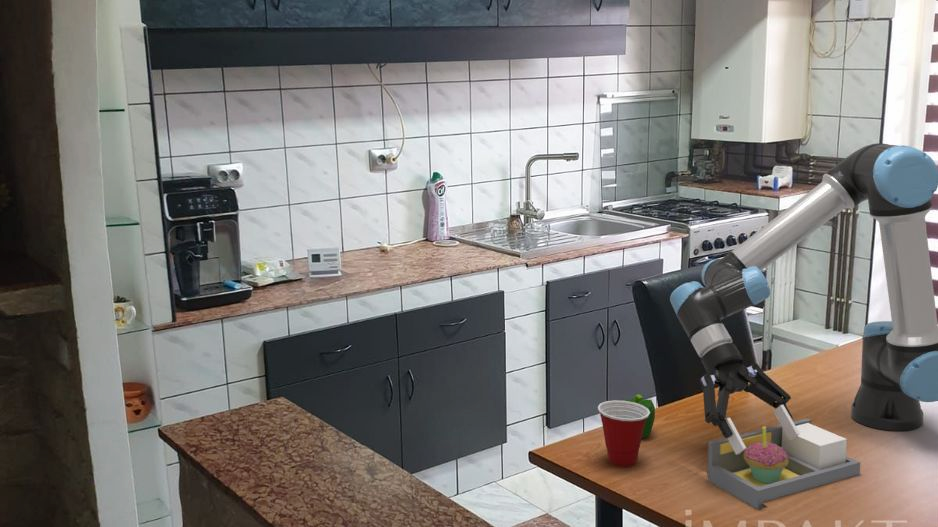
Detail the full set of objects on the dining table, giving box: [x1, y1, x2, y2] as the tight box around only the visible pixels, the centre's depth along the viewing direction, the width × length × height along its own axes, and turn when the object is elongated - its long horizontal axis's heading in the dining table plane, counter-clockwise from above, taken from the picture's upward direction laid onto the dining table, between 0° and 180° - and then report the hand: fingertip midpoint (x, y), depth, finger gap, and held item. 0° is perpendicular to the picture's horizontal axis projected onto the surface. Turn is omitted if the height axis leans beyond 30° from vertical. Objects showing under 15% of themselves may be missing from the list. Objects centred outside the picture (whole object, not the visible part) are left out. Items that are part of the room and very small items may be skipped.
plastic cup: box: [597, 400, 650, 468], centre depth 187 cm, size 11×11×12 cm
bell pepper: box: [620, 394, 656, 439], centre depth 201 cm, size 8×8×10 cm
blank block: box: [782, 423, 848, 470], centre depth 178 cm, size 7×10×7 cm
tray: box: [707, 417, 861, 510], centre depth 175 cm, size 26×14×8 cm, turn 115°
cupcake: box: [743, 423, 789, 484], centre depth 173 cm, size 9×8×12 cm
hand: (768, 444), depth 172 cm, fingers open, 13 cm apart
